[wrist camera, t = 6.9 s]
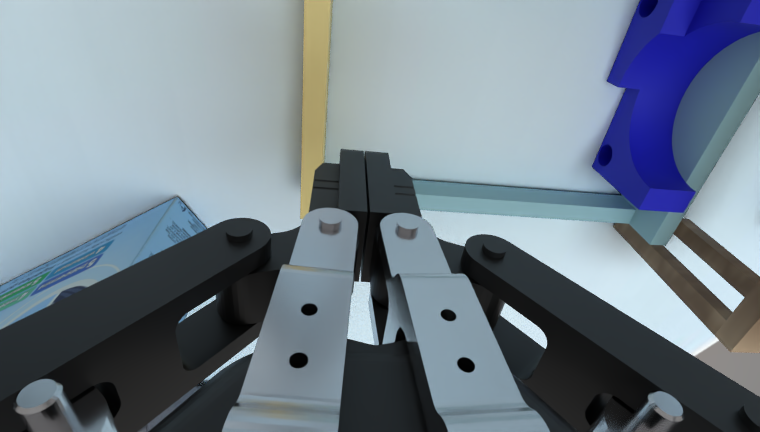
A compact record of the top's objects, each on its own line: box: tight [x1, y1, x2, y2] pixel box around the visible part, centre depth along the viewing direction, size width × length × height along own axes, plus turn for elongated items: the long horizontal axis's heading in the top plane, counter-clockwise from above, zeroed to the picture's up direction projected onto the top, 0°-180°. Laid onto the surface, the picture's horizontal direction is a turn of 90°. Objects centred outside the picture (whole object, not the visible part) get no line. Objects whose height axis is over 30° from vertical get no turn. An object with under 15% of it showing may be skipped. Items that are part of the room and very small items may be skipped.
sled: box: [300, 0, 760, 246], centre depth 24 cm, size 16×25×4 cm, turn 83°
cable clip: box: [592, 0, 760, 213], centre depth 25 cm, size 12×4×6 cm, turn 173°
